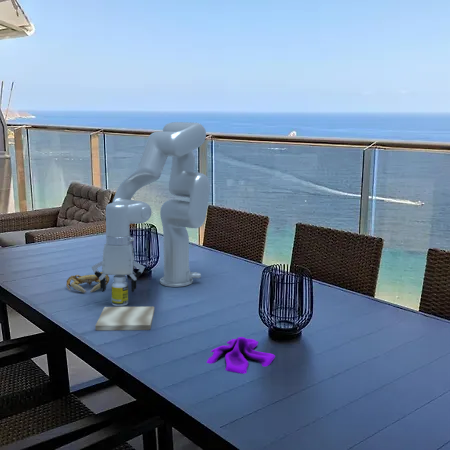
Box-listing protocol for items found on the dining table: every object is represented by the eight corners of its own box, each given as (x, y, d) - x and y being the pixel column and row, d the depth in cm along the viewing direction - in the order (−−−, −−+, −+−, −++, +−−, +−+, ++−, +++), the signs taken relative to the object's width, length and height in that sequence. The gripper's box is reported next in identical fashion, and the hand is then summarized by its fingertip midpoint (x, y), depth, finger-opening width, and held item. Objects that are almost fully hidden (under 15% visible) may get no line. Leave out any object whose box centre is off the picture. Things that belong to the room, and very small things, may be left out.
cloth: (246, 337, 156) (246, 317, 154) (290, 360, 141) (291, 338, 140) (180, 357, 143) (180, 335, 141) (222, 384, 128) (222, 360, 127)
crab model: (67, 296, 189) (66, 281, 188) (66, 285, 201) (65, 271, 200) (111, 292, 194) (111, 277, 193) (108, 281, 206) (107, 267, 205)
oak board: (154, 310, 175) (154, 306, 174) (150, 329, 159) (150, 325, 159) (104, 311, 174) (104, 306, 173) (95, 330, 158) (95, 325, 158)
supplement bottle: (124, 307, 178) (123, 278, 176) (109, 306, 179) (108, 277, 177) (130, 302, 183) (130, 274, 181) (115, 300, 184) (114, 273, 182)
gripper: (145, 238, 181) (145, 287, 184) (93, 238, 180) (94, 287, 183) (143, 243, 173) (143, 294, 176) (89, 242, 172) (90, 294, 175)
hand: (118, 290), depth 179 cm, fingers open, 9 cm apart
